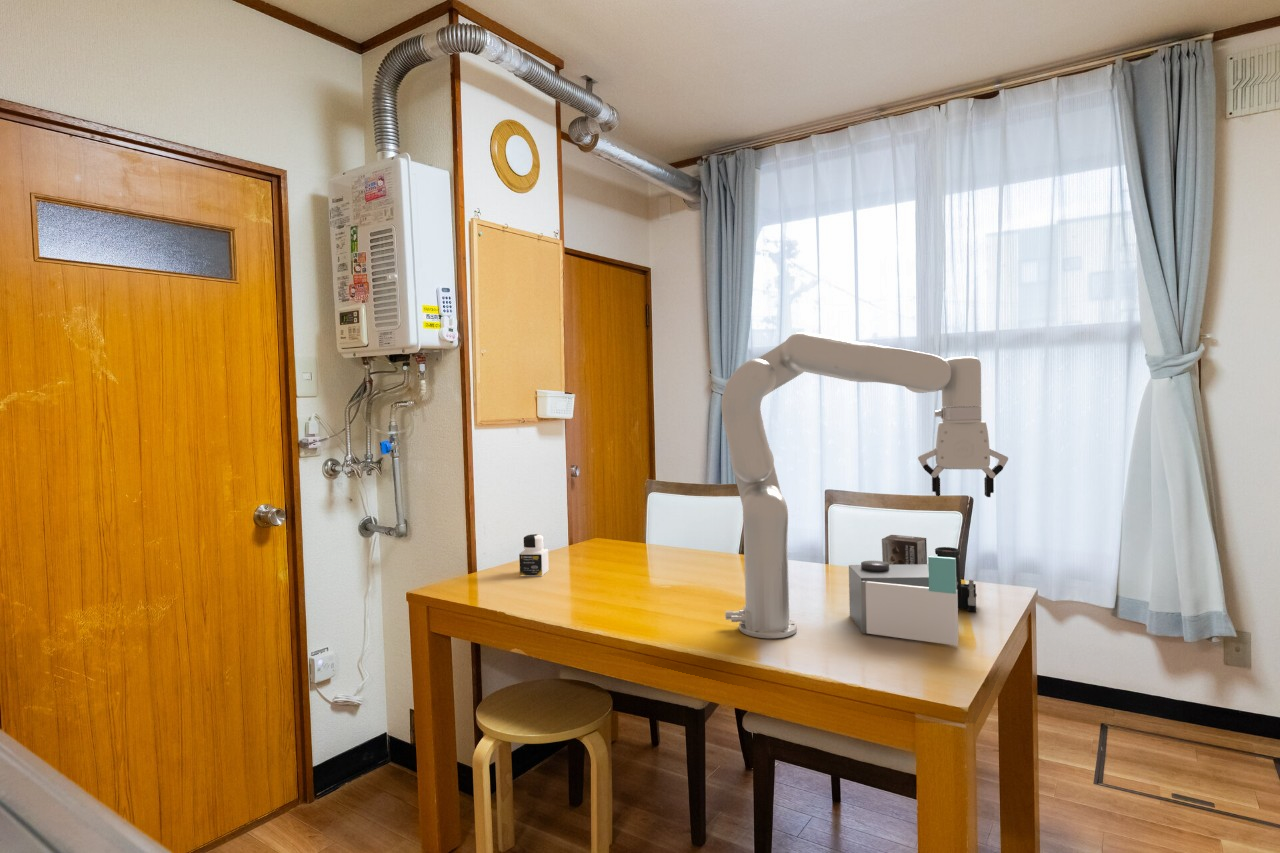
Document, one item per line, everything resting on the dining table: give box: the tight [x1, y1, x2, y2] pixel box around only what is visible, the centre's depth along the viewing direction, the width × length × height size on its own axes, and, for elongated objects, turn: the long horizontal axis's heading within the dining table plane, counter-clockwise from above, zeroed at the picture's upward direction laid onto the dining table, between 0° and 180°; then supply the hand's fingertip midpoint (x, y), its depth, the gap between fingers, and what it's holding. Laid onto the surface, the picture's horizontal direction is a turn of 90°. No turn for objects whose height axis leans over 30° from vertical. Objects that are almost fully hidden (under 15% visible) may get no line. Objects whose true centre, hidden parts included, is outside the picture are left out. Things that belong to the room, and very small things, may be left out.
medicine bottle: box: [518, 533, 550, 577], centre depth 207 cm, size 7×7×12 cm
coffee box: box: [881, 534, 928, 565], centre depth 166 cm, size 9×6×16 cm
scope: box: [934, 546, 978, 613], centre depth 161 cm, size 8×14×10 cm
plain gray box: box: [848, 560, 957, 631], centre depth 150 cm, size 20×12×13 cm, turn 85°
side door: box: [860, 555, 959, 646], centre depth 139 cm, size 19×1×18 cm, turn 60°
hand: (962, 495), depth 142 cm, fingers open, 9 cm apart
